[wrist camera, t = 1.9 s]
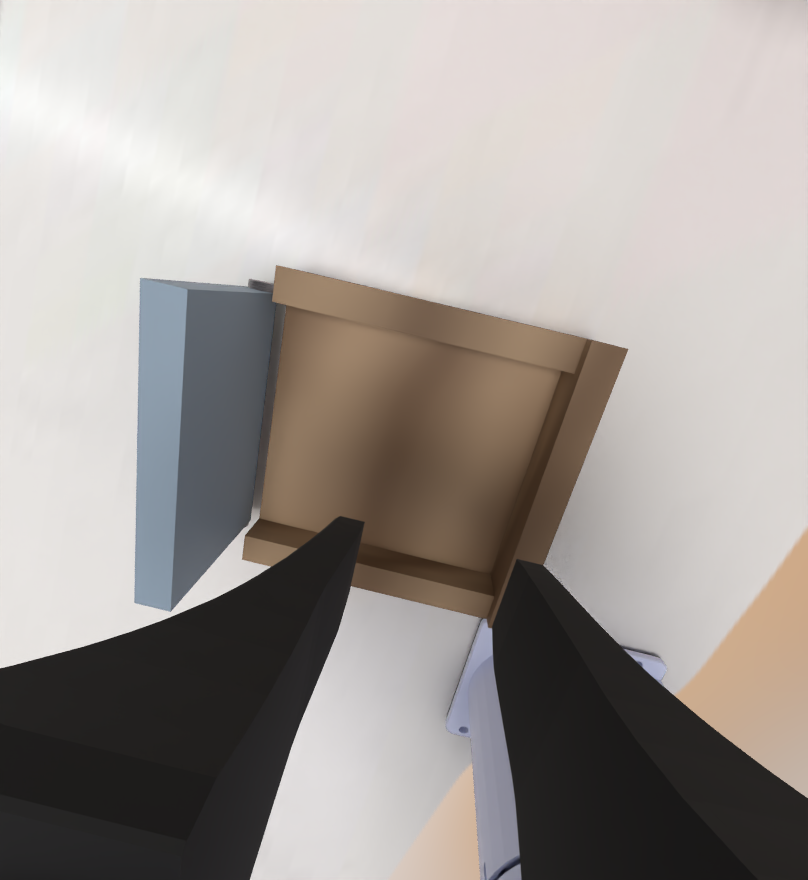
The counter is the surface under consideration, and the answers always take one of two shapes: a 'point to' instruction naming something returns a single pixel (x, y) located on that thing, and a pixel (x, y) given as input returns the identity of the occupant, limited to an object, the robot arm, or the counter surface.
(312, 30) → the counter surface
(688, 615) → the counter surface
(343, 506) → the wooden tray
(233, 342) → the tailgate
